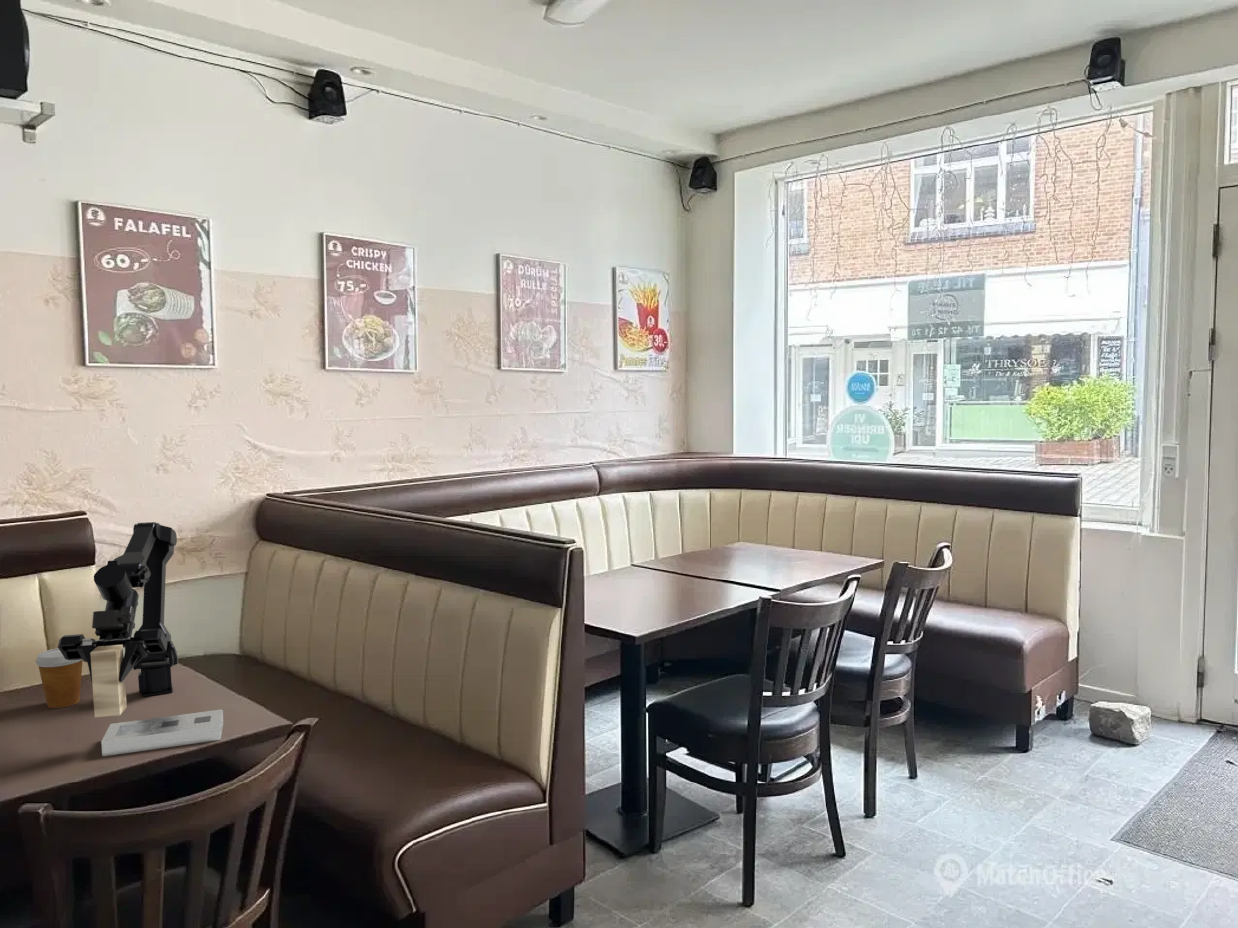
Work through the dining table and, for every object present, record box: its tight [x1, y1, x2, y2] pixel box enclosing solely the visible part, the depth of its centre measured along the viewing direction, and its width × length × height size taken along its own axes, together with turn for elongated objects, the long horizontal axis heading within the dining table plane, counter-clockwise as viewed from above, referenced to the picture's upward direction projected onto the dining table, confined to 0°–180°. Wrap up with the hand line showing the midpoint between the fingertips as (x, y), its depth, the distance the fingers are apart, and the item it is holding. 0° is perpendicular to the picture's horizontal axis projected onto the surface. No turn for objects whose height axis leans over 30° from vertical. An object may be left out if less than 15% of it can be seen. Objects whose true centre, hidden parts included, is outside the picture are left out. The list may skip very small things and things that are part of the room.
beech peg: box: [90, 645, 128, 718], centre depth 177 cm, size 4×4×13 cm
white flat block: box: [100, 709, 224, 757], centre depth 181 cm, size 21×10×3 cm, turn 111°
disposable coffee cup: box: [35, 647, 84, 709], centre depth 203 cm, size 10×10×12 cm
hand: (106, 682), depth 175 cm, fingers closed on beech peg, 4 cm apart
